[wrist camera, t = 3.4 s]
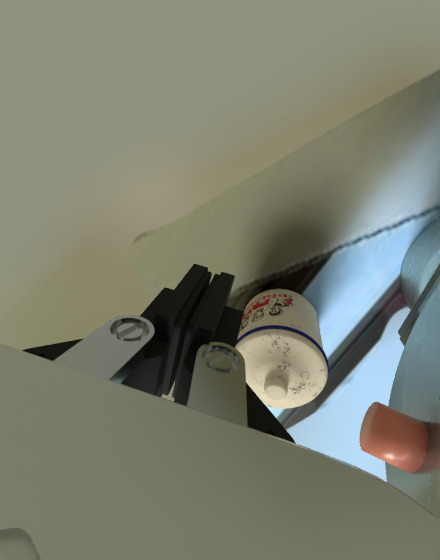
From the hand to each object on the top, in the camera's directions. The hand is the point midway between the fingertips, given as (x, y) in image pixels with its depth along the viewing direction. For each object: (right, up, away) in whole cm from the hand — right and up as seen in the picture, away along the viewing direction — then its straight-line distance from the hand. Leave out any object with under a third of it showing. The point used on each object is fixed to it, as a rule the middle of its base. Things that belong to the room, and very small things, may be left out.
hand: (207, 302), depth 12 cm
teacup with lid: (+7, -5, +24) cm, 25 cm away
